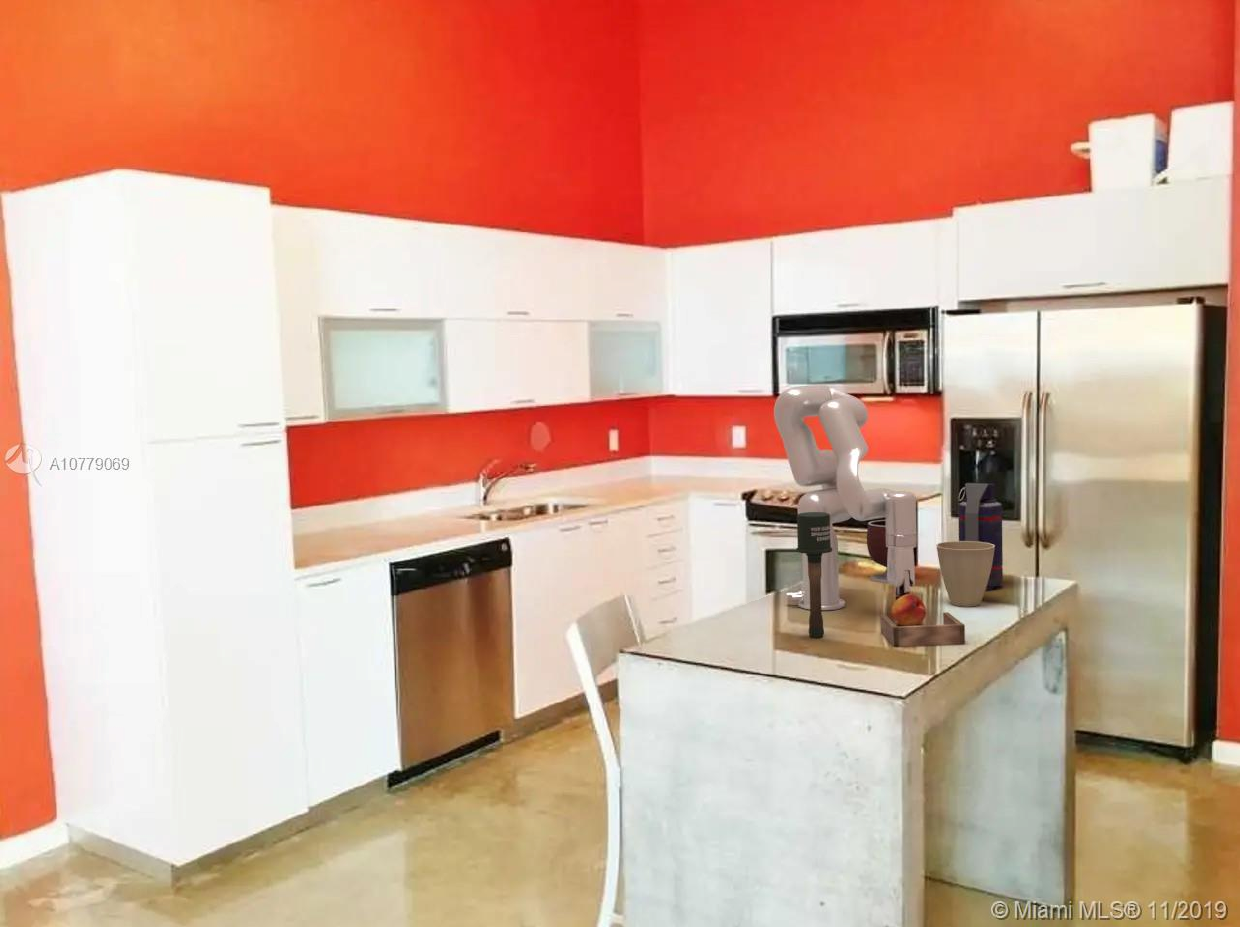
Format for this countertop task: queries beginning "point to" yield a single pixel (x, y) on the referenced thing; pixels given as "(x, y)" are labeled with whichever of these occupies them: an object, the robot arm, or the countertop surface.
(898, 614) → the fruit
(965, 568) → the plant pot
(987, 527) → the smoke canister
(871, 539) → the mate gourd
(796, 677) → the countertop surface
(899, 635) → the box
